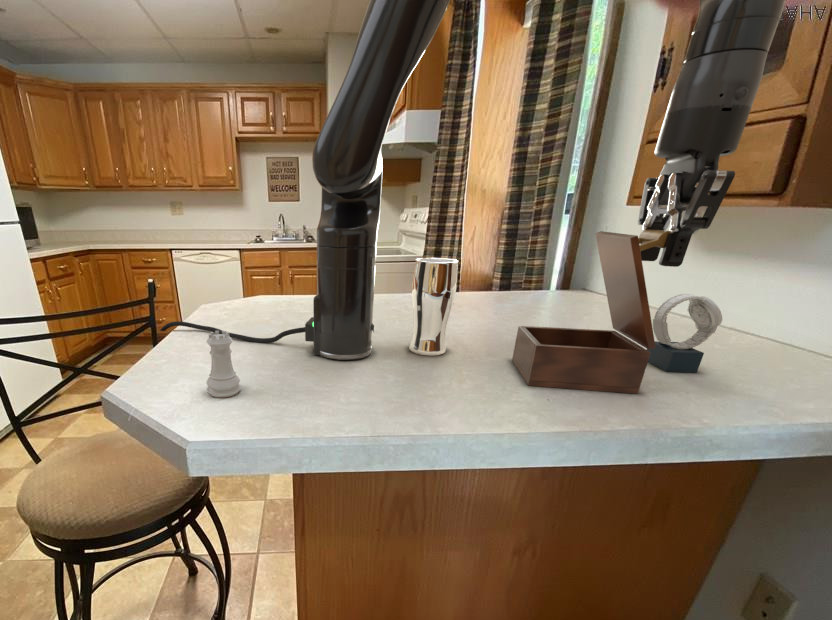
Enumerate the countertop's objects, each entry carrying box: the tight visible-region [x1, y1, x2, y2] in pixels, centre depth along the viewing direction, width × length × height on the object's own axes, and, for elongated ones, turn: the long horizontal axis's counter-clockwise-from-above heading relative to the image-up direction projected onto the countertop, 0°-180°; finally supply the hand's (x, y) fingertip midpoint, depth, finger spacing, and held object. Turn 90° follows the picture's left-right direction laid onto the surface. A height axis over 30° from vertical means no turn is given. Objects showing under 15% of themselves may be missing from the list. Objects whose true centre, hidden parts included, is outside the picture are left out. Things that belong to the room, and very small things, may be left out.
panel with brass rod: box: [595, 229, 673, 350], centre depth 55 cm, size 14×11×6 cm
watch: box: [646, 293, 723, 374], centre depth 64 cm, size 6×8×11 cm
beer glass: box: [408, 257, 459, 357], centre depth 70 cm, size 7×7×15 cm
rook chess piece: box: [206, 330, 242, 398], centre depth 54 cm, size 4×4×8 cm
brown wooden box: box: [511, 325, 651, 395], centre depth 61 cm, size 14×11×6 cm
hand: (657, 262), depth 54 cm, fingers closed on panel with brass rod, 5 cm apart
